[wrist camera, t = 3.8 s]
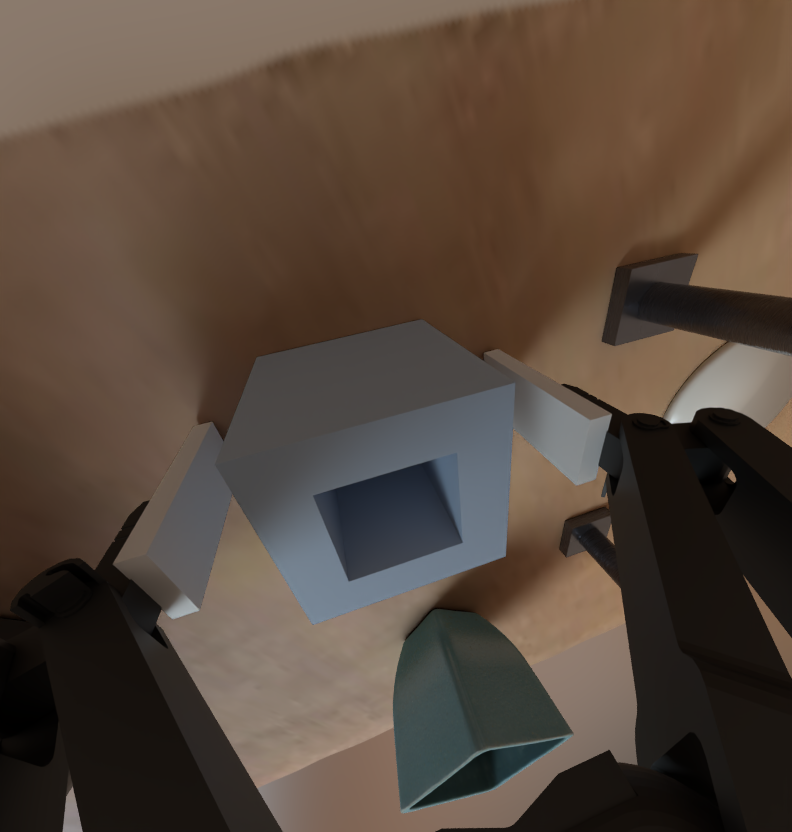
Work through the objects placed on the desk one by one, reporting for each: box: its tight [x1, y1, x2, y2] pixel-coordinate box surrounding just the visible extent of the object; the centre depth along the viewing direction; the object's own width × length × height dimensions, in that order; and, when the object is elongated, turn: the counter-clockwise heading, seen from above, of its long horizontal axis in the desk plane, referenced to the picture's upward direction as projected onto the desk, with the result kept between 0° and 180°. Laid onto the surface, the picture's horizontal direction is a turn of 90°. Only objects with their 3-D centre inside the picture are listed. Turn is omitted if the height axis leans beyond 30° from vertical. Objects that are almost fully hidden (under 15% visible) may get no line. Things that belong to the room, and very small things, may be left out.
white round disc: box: [663, 342, 792, 428], centre depth 22 cm, size 11×11×1 cm
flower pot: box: [393, 609, 573, 813], centre depth 23 cm, size 9×9×9 cm
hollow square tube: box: [215, 319, 515, 625], centre depth 12 cm, size 7×7×7 cm
